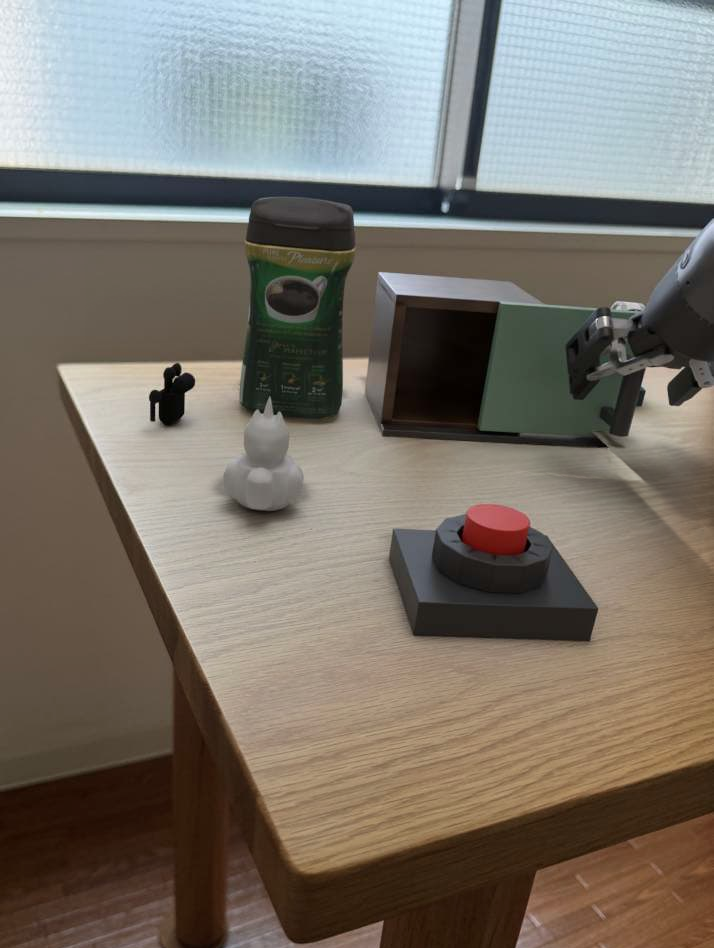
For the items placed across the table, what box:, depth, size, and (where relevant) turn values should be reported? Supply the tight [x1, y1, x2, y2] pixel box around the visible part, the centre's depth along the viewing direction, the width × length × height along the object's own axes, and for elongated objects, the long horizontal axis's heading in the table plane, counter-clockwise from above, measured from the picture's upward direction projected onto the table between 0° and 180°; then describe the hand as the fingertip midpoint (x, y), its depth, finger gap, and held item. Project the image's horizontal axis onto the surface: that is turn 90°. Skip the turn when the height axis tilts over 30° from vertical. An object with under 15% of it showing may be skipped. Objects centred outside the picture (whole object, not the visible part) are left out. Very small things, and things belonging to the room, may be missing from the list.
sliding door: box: [477, 301, 647, 438], centre depth 73 cm, size 13×5×11 cm, turn 94°
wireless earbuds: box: [148, 362, 196, 426], centre depth 73 cm, size 7×2×5 cm, turn 162°
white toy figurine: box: [223, 397, 305, 512], centre depth 58 cm, size 5×7×8 cm
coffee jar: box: [238, 196, 357, 421], centre depth 76 cm, size 10×8×19 cm
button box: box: [388, 513, 599, 642], centre depth 50 cm, size 10×9×4 cm
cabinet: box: [364, 271, 610, 449], centre depth 79 cm, size 22×13×12 cm, turn 94°
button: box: [462, 503, 531, 556], centre depth 49 cm, size 4×4×2 cm
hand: (624, 393), depth 73 cm, fingers open, 8 cm apart
